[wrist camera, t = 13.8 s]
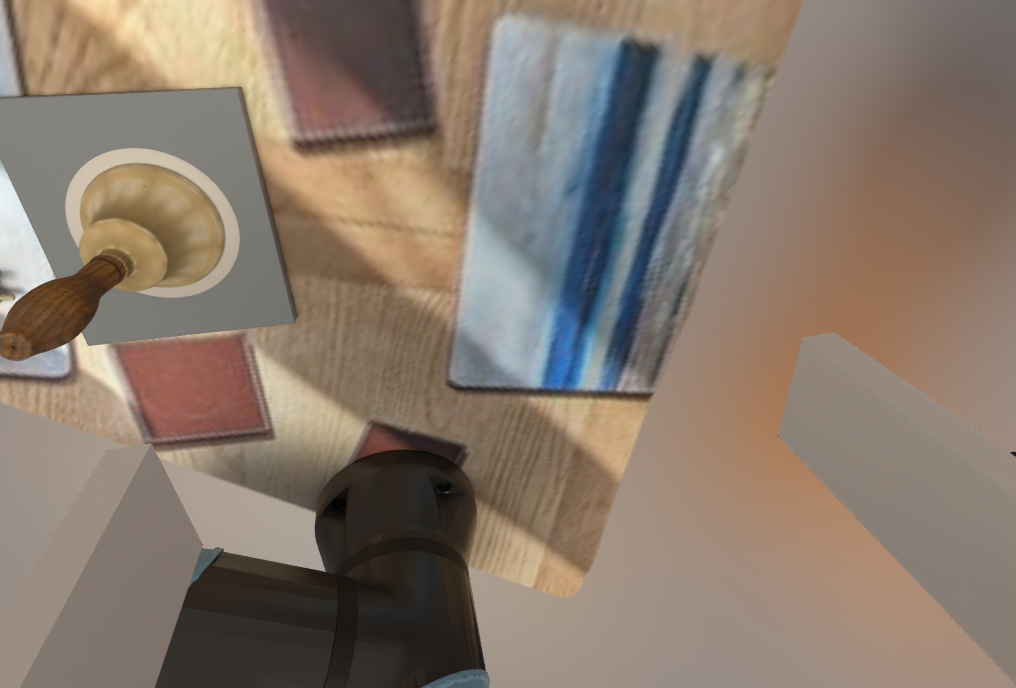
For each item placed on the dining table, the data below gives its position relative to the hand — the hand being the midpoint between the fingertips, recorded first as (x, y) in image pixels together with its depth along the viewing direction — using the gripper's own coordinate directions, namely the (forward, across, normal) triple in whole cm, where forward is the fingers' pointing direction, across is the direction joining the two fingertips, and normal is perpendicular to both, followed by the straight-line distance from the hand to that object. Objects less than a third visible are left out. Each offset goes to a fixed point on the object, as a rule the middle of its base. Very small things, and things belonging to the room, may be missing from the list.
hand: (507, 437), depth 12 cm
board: (+31, +18, +3) cm, 36 cm away
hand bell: (+30, +18, +3) cm, 35 cm away
